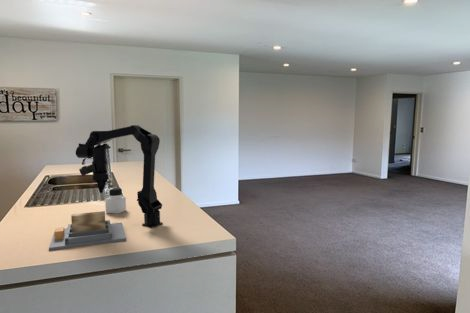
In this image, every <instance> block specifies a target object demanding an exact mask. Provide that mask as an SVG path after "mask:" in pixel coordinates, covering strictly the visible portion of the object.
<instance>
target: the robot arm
mask: <svg viewBox="0 0 470 313" xmlns="http://www.w3.org/2000/svg"><path fill="white" fill-rule="evenodd" d="M128 136H133V138H134V139H135V140H136V141H137V142H138V143H139V144H140V148H141V151H142V154H143V167H142V168H143V172H142V189H141V190H138V191H137V193H136V194H137V198H136V201H137V204H138V206H139V207H140V209H141V212H142V214H143V216H144V217H143V221H144V223H142V224H141V225H142V226H143V227H144V226H145V227H148V228H155V227H157V226H160V225H163V222H161V212H160V210H162V207H163V204H162V203H161V202H160V200H159V199H158V196H157V195H158V194H157V191H156V189H155V172H156V171H155V168H156V167H155V166H156V165H155V164H156V154H157V152H158V150H159V147H160V141H161V140H160V137H159V136H158V135H157V134H154V133H152V132H150V131H148V130H146V129H145V128H143V127H141V125H138V124H133V125H130V126H125V127H119V128H115V129H111V130H93V131H90V133H89V137H88V138H87V140H86V141H85V143H84V142H80V143H78V146H77V147H76V150H75V156H76V157H77V158H78V159H92V161H91V164H89V165H84V166H81V168H79V173H80V175H81V177H85V176H86V175H89V174H92V181H94V182H96V183H97V187H98V188H97V189H98V191H99V194H103V192H104V189H105V186H106V184H107V182H108V180H109V174H108V165H107V163H108V162H107V160H108V159H107V150H109V149H111V146H110V145H109V144H108V142H110V141H112V140H114V139H119V138H123V137H128Z"/></svg>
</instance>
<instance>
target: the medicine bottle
mask: <svg viewBox="0 0 470 313" xmlns="http://www.w3.org/2000/svg"><path fill="white" fill-rule="evenodd" d="M122 192H123V191H122V188H121V187H111V188H109V189H108V195H109V196H108V197H107V198H105V199H104V200H105V214H106V213H107V214H115V215H116V214H121V213H122V212H125V211H127V201H126V200H127V199H126V198H127V197H126V196H123V193H122Z"/></svg>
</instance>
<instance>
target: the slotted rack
mask: <svg viewBox="0 0 470 313" xmlns="http://www.w3.org/2000/svg"><path fill="white" fill-rule="evenodd" d="M105 228H106V229H99V230H90V231H81V232H73V233H72V223H69V224H68V225H67V227H66V228H65V227H62V226H61V227H55V229H54V231H53V236H52V238H51V241H50V243H49V246H48V251H56V250H58V251H59V250H64V249H71V248H72V249H73V248H80V247H87V246H95V245H102V244H110V243H117V242H118V243H119V242H126V241H127V236H126V232H125V230H124V229H125V228H124V224H123V222H121V221H120V222H114V223H113V222H112V223H111V221H110V220H109V219H107V220H106V219H105Z"/></svg>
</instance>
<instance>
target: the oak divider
mask: <svg viewBox="0 0 470 313" xmlns="http://www.w3.org/2000/svg"><path fill="white" fill-rule="evenodd" d="M70 219H71V224H72V233H73V232H81V231H90V230H99V229H106V228H105V221H106V210H105V211H102V210H101V211H94V212H93V211H92V212H83V213H72V214H71V216H70Z"/></svg>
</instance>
